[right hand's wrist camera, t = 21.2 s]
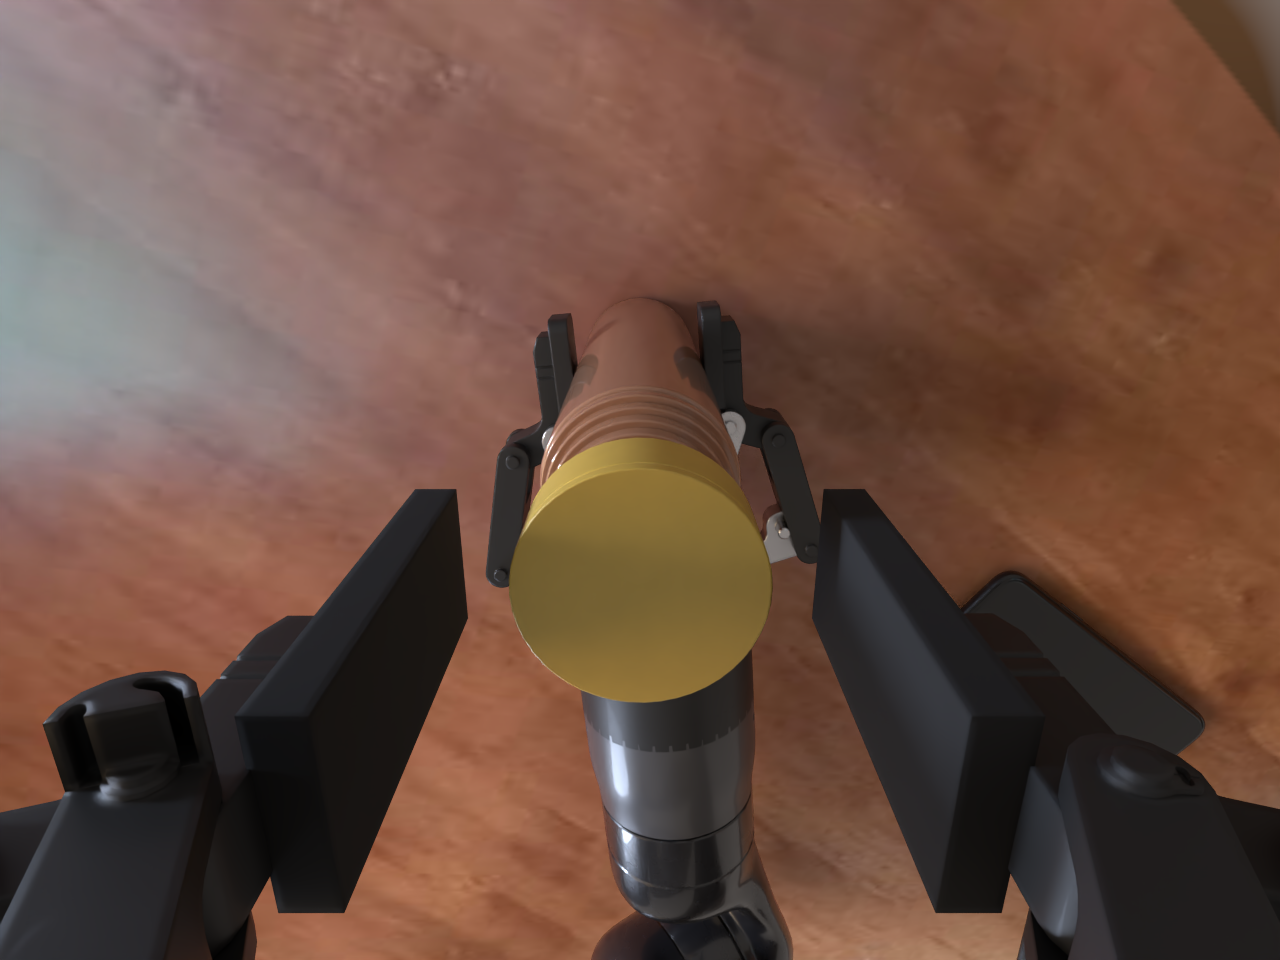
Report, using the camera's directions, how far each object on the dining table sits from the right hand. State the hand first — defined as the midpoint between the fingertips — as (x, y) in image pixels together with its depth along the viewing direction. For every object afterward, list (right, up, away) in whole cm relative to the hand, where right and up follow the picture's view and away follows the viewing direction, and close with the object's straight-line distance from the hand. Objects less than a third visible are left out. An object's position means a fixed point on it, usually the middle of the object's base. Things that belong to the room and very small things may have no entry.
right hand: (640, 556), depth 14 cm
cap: (0, 0, -1) cm, 1 cm away
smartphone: (+23, -10, +27) cm, 36 cm away
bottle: (0, +7, +20) cm, 22 cm away
